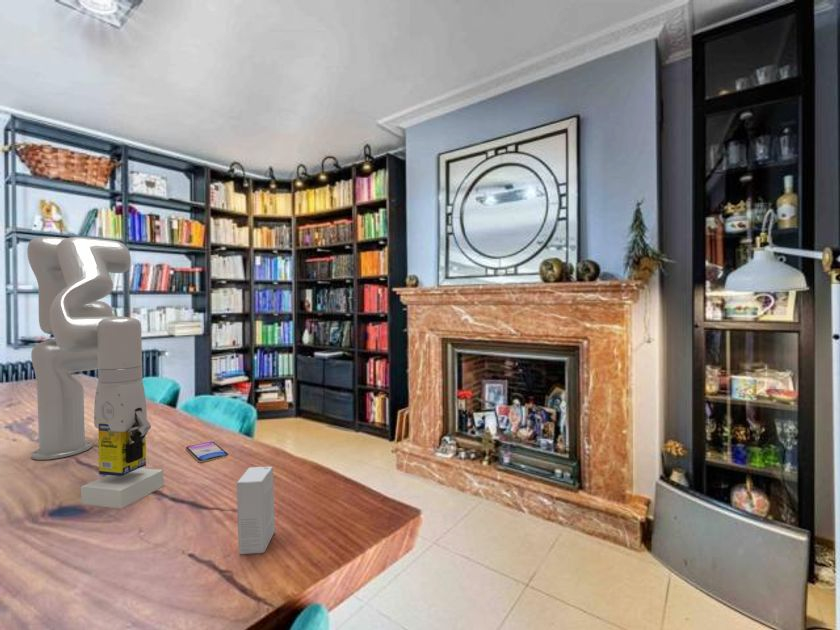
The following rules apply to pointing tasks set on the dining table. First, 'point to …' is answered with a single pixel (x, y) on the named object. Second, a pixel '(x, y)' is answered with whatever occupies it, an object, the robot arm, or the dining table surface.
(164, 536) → the dining table surface
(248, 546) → the skincare box
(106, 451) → the supplement box
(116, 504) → the white square block
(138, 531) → the dining table surface
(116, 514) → the dining table surface
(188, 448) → the smartphone
